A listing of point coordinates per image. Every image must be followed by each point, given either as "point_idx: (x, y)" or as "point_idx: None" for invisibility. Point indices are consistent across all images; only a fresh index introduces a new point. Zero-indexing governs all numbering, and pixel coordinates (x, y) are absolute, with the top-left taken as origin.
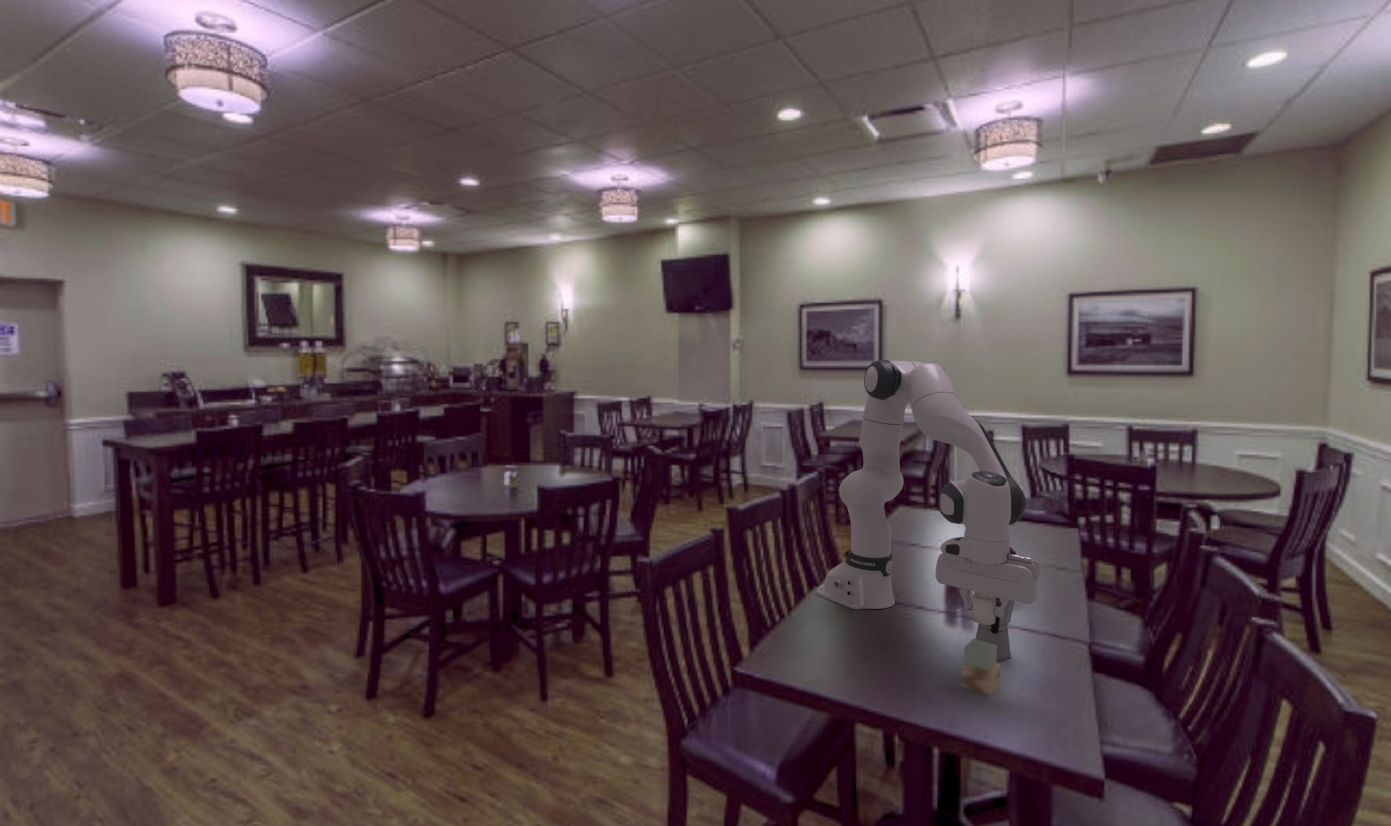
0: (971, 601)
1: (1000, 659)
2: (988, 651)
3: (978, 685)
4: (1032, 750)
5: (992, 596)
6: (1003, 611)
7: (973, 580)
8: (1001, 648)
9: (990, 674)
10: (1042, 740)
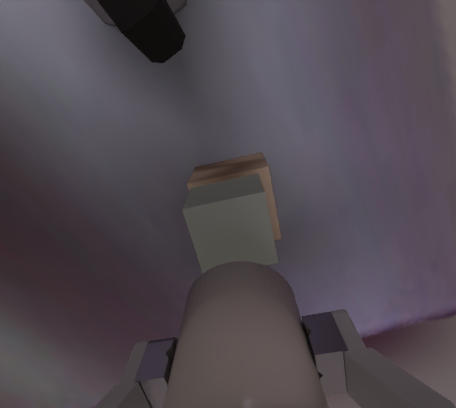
0: (161, 398)
1: (184, 2)
2: (269, 254)
3: None
4: (402, 309)
5: (274, 391)
6: (355, 330)
7: None
8: None
9: (279, 239)
10: (407, 275)
